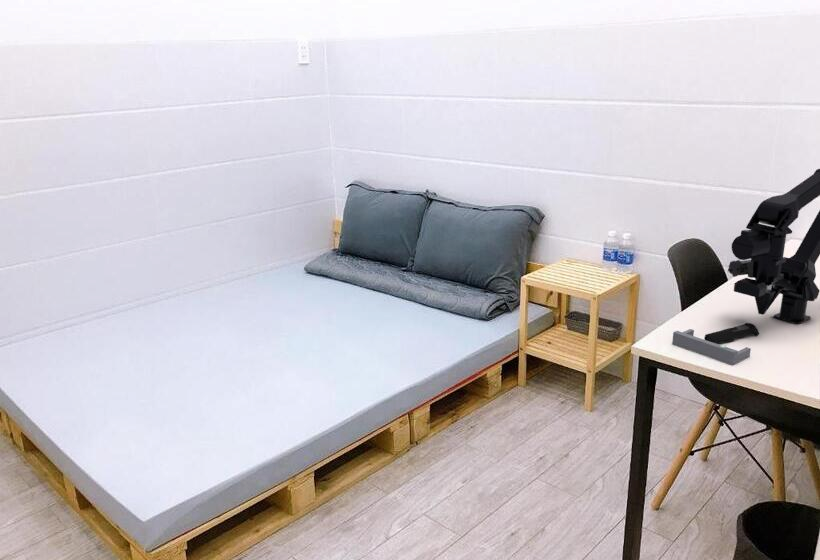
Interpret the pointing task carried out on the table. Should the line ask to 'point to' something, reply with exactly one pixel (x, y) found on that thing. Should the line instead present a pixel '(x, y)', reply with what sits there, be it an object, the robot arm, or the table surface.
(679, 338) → the charging dock
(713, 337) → the electric trimmer
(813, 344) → the table surface
